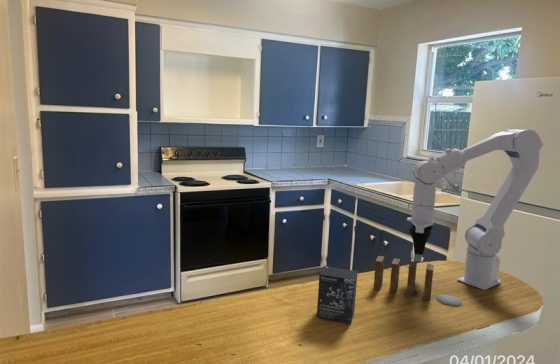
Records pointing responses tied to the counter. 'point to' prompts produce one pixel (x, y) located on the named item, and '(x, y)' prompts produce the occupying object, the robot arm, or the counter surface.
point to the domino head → (418, 257)
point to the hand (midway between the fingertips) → (419, 251)
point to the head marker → (449, 300)
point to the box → (336, 294)
